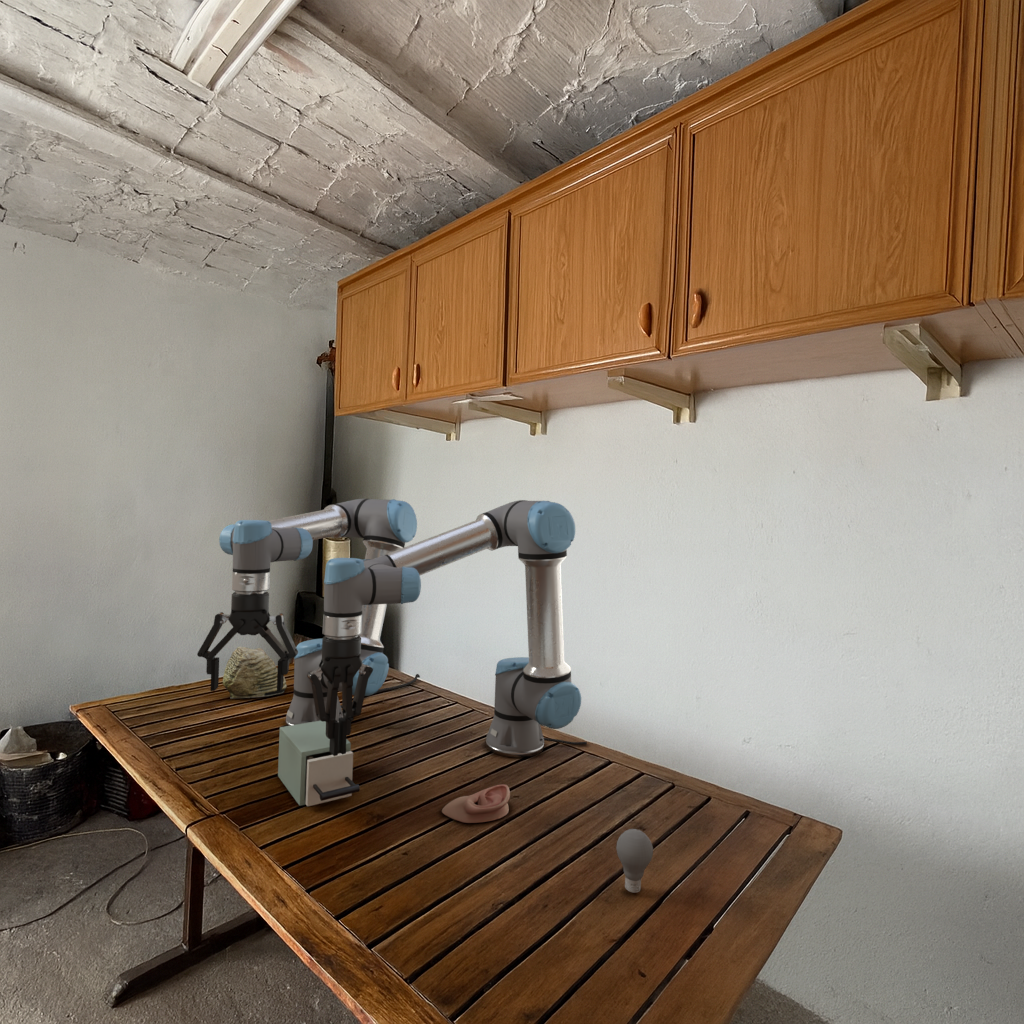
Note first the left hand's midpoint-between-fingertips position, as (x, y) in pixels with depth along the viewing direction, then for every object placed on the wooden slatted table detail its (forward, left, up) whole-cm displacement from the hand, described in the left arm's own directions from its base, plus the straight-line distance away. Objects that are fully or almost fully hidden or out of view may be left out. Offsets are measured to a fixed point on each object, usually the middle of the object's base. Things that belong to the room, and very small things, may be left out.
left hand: (247, 689), depth 137 cm
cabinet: (-10, +10, -21) cm, 25 cm away
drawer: (-8, +17, -20) cm, 27 cm away
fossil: (-33, -55, -21) cm, 68 cm away
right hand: (-6, +24, -9) cm, 26 cm away
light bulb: (-24, +81, -21) cm, 87 cm away
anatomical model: (-26, +44, -21) cm, 55 cm away
